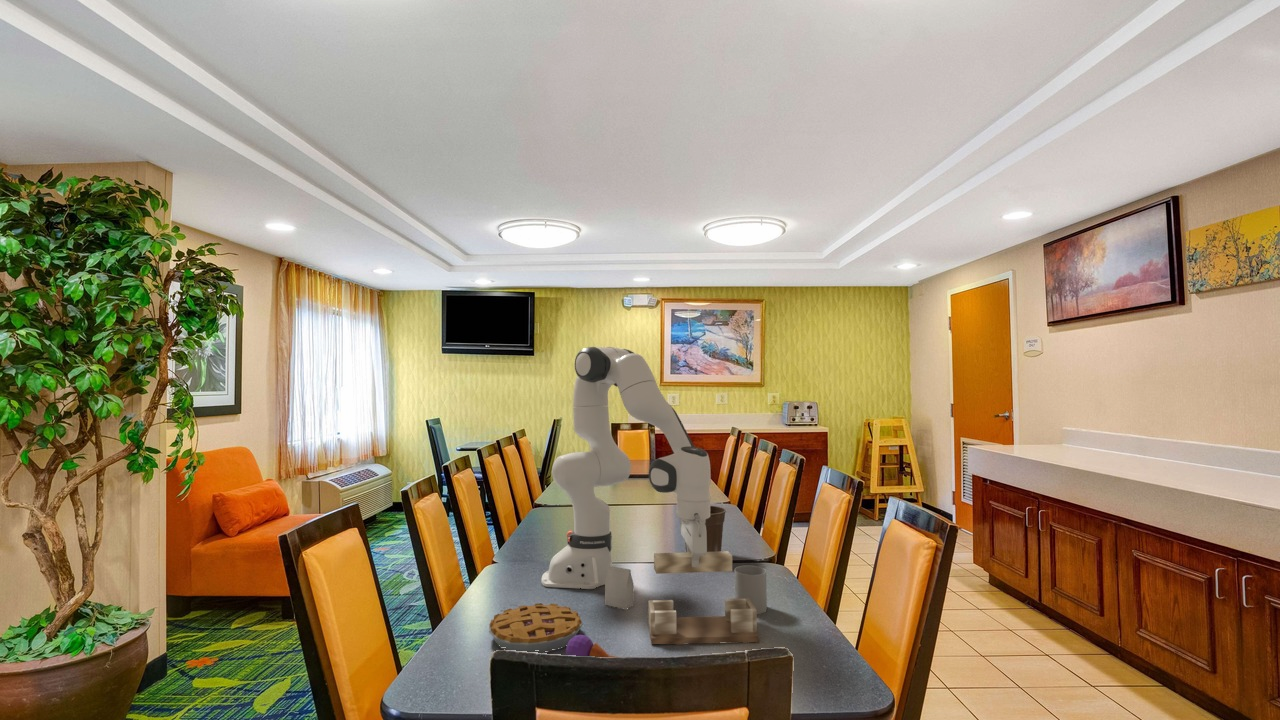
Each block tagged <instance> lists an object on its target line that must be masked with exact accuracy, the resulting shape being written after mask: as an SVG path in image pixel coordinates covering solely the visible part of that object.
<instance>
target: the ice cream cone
mask: <svg viewBox="0 0 1280 720" xmlns="http://www.w3.org/2000/svg"><path fill="white" fill-rule="evenodd" d="M565 654H566V656H567V655H576V656H595V657H618V656H616V655H609V653H607V652H606V651H605V650H604V649H603V647H602V646H600V645H599V644H598V643H594V642H593V640H592V639H591V638H590V637H589V636H588V635H585V634H577V635H576V636H574V637H573V638H572V639H570V640H569V642H568V644H567V646H566V647H565Z"/></svg>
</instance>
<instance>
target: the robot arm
mask: <svg viewBox="0 0 1280 720" xmlns="http://www.w3.org/2000/svg"><path fill="white" fill-rule="evenodd" d="M574 370H575V374H576V376H577V377H576V378H575V380H574V387H573V395H572V397H573V398H572V412H573V413H572V415H573V430H574V433H575V435H577V436H578V437H579V438H580V439H583V440H585V441H586V442H587V443H588V445H589V449H590V451H577V452H576V451H575V452H570V453H569V452H568V453H566V454H561V455H559V456H557V457H556V459H554V462H553V463H552V467H551V476H552V477H551V478H552V480H553V481H554V483H555V484H556V486H557V487H558V488H560V489H561V490H562V491H564V492H565V494H566V495H567V496H568V498H569V500H570V502H571V504H572V508H573V509H572V510H573V523H574V524H573V525H574V526H573V527H574V528H573V530H574V531H572V530H568V531H567V533H566V538H567V545H566V546H565V547H563V548H562V549H561V550H560V551H558V552H557V553H555V555H554V556H553V557H552V558H551V560H550V563H549V565H548V570H546V571H545V572H544V573H543V574H542V576H541V580H540V582H541V585H542V586H543V587H546V588H559V589H560V588H563V589H565V588H566V589H580V588H581V589H582V590H583V589H585V590H593V589H596V587H597V588H598V587H600V586H601V587H602V586H605V581H606V577H607V573H608V566H613V559H612V548H613V536H612V531H611V508H610V506H609V504H608V503H607V502H606V501H605V500H603V499H601V498H599V497H597V496H596V495H595V488H597V487H598V488H599V487H607V486H613V485H617V484H620V483H623V482H626V481H627V480H628V479H629V477H630V474H631V472H632V463H631V460H630V458H629V456H628V454H626V453H625V452H624V451H623V450H622V449H620V448H619V446H618V445H617V444H616V442H615V440H614V438H613V436H612V433H611V427H610V413H609V391H610V388H611V387H612V386H615V387H616V388H618V391H619V395H620V398H621V401H622V403H623V406H624V408H625V410H626V411H627V412H628V414H629V415H630V416H631V417H632V418H634V419H636V420H638V421H641V422H645V423H648V424H650V425H652V426H654V427H655V428H657V429H659V430H660V431H661V432H662V433H663V434H664V437H665V438H666V439H667V441H668V444H669V446H670V447H671V450H672V452H673V453H672V454H670V455H666V456H662V457H659V458H656V459H654V460H653V461H652V462H651V464H650V465H649V469H648V480H649V481H648V482H649V483H650V485H651V487H652V489H654V491H656V492H658V493H663V494H668V493H669V494H670V493H675V494H676V516H677V518H679V528H680V534H681V536H682V538H683V540H684V543H685V542H686V545H687V552H691V554H692V556H691V565H692V567H698V566H699V557H700V556H705V555H706V553H707V533H706V525H705V519H708V518H710V506H711V495H710V486H711V481H712V480H711V479H712V478H711V477H712V476H711V462H710V457H709V453H708V452H707V451H706V450H705V449H704V448H703V449H702V448H700V447H697V446H695V445H694V443H693V442H692V439H691V438H690V436H689V433H688V432H687V430H686V428H685V426H684V424H683V422H682V421H681V419H680V417H679V414H677V411H676V410H675V408H673V406H672V405H671V404H670V403H669V402H668V401H667V399H665V396H664V394H662V392H661V389H660V388H659V386H658V383H657V381H656V378H655V376H654V374H653V372H652V369H651V367H650V366H649V365H648V363H647V361H646V359H645V358H644V356H642V355H641V354H638V353H635V352H634V351H632V350H630V349H627V348H619V347H614V346H607V347H605V346H603V347H596V346H588V347H584V348H581V349H580V350H579V351H578V352H577V354H576V356H575V359H574Z"/></svg>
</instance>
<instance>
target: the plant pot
mask: <svg viewBox="0 0 1280 720" xmlns="http://www.w3.org/2000/svg"><path fill="white" fill-rule="evenodd" d="M726 513H727V509H726V508H725V507H723V506H722V507H721V506H717V505H710V518H708V519H705V525H706V533H707V552H720V551H722V545H723V531H724V523H725V518H726V517H725V515H726ZM684 545H685V552H687V545H686V542H685V541H684Z"/></svg>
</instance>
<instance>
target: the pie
mask: <svg viewBox="0 0 1280 720" xmlns="http://www.w3.org/2000/svg"><path fill="white" fill-rule="evenodd" d="M488 626H489V627H488V632H489V634H490V635H491V636H492V637H493V639H494V642H495V643H497V644H498V645H500V647H506V648H500V647H499V648H500V649H501V650H502V649H505V650H516V651H527V652H538V653H541V654H546V653H548V652H545V651H551V652H554V651H553V650H552V649H558V648H561V647H564V648H566V647H567V646H566V645H567V644H568V642H569V640H570V639H572V638H573V637H574V636H576V635H578V633H579V631H580V630H581V628H582V626H583V621H582V619H581V615H579V613H578V611H577V610H572V609H571V607H569V606H559V605H558V603H550V604H543V603H542V602H541V603H537V602H536V603H535V604H533V605H519V606H518V607H516V608H513V609H512V608H507V609H504V611H503V612H502V613H497V614H495V615H494V616H493V619H491V620H490V622H489V625H488ZM497 644H496V645H497ZM565 646H566V647H565ZM535 650H539V651H535ZM558 650H559V649H558Z"/></svg>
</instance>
